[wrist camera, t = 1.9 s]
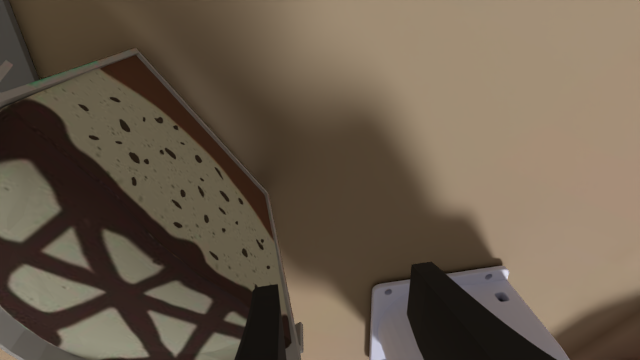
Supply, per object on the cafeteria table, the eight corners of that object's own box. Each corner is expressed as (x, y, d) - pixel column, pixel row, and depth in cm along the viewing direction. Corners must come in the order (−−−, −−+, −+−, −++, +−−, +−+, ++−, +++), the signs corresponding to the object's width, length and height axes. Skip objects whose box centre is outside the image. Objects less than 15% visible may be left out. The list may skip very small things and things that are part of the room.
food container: (1, 103, 17) (-245, 251, 8) (107, 16, 16) (-49, 82, 8) (199, 267, 23) (172, 451, 14) (285, 211, 22) (310, 372, 14)
